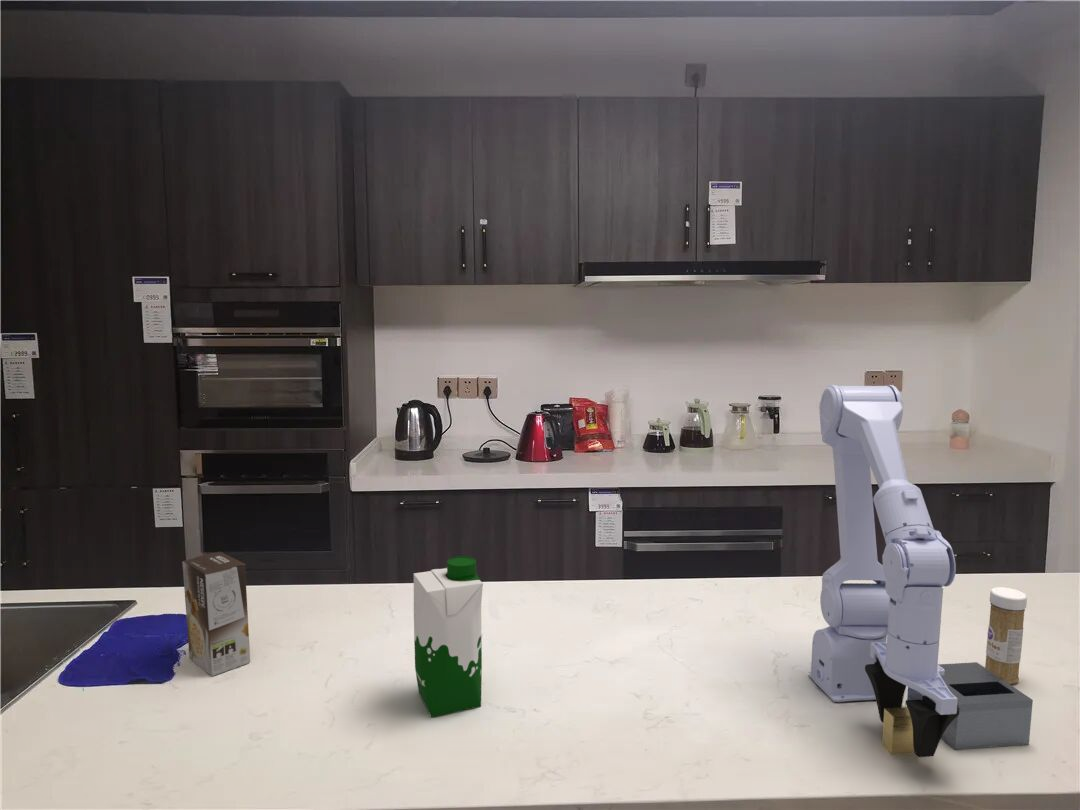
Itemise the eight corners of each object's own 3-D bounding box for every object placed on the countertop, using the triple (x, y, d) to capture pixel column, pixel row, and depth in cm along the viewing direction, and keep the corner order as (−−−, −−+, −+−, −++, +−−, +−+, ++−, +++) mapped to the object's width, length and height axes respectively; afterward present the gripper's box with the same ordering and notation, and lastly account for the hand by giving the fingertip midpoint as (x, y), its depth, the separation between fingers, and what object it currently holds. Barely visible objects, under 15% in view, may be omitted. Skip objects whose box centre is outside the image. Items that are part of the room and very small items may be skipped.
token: (891, 755, 90) (893, 717, 90) (881, 745, 92) (884, 708, 92) (929, 752, 91) (931, 714, 90) (918, 742, 93) (921, 705, 92)
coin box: (955, 749, 91) (958, 704, 90) (906, 707, 101) (909, 666, 100) (1028, 744, 92) (1032, 699, 91) (973, 702, 102) (976, 662, 101)
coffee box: (252, 662, 114) (247, 563, 112) (211, 677, 109) (205, 574, 107) (226, 644, 120) (221, 550, 118) (186, 658, 115) (180, 560, 113)
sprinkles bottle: (976, 671, 111) (983, 586, 109) (1004, 670, 111) (1011, 585, 110) (998, 686, 106) (1005, 598, 105) (1027, 685, 107) (1035, 597, 105)
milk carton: (489, 708, 101) (488, 568, 98) (425, 723, 97) (422, 578, 95) (470, 679, 109) (468, 549, 106) (410, 691, 105) (406, 557, 103)
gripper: (985, 660, 83) (976, 771, 85) (907, 609, 97) (901, 705, 99) (927, 663, 82) (919, 775, 84) (857, 611, 96) (852, 708, 98)
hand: (906, 737), depth 91 cm, fingers open, 7 cm apart
